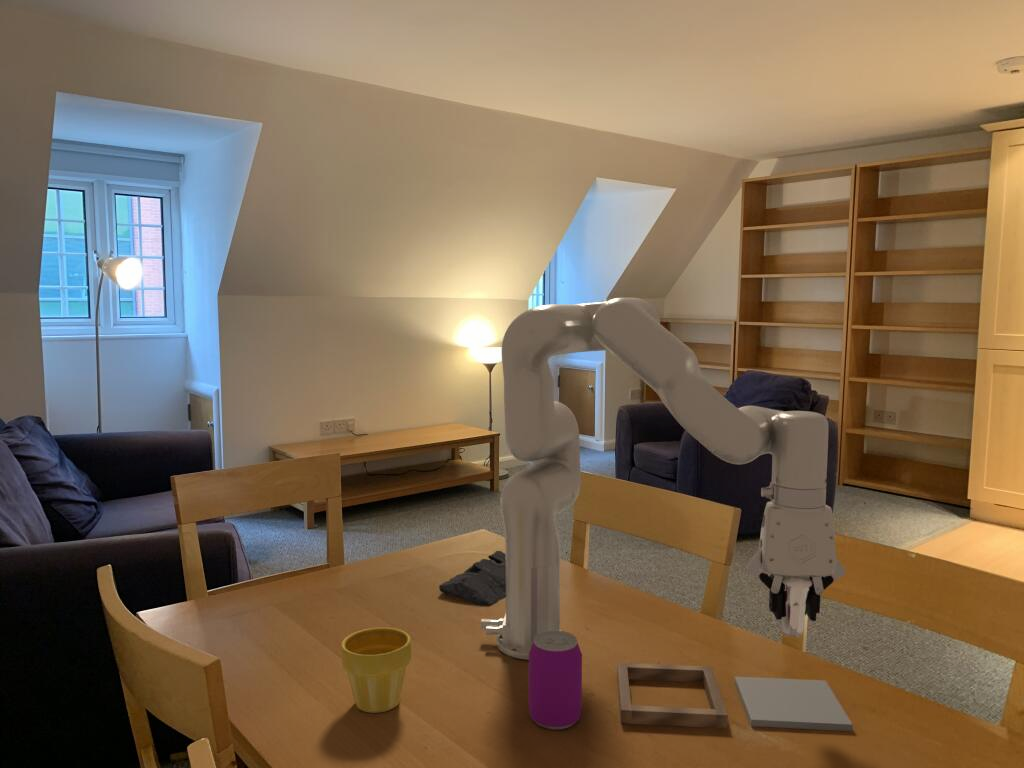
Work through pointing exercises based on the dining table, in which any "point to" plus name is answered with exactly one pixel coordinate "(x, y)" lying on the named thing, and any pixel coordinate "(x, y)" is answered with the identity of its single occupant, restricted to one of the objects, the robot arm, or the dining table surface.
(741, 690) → the slate pad
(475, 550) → the dining table surface
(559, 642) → the beverage can
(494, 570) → the dark slate chunk
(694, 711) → the walnut collar
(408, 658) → the plant pot
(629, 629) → the dining table surface
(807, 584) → the milkshake
